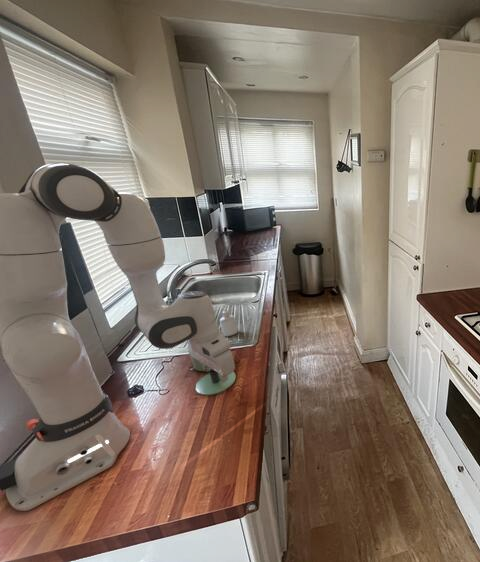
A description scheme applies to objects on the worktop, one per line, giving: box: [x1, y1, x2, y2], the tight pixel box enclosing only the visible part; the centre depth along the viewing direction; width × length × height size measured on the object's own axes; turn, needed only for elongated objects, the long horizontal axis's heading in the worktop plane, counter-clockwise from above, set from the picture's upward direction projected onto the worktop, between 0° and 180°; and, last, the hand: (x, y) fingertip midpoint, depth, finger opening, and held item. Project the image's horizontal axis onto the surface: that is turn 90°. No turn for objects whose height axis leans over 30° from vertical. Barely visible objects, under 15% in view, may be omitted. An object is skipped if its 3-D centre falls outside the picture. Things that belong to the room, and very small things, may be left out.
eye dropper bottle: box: [219, 307, 238, 337], centre depth 128 cm, size 4×6×12 cm
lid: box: [195, 369, 237, 396], centre depth 100 cm, size 12×12×5 cm
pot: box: [187, 345, 206, 372], centre depth 110 cm, size 10×10×8 cm
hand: (216, 375), depth 101 cm, fingers open, 8 cm apart
